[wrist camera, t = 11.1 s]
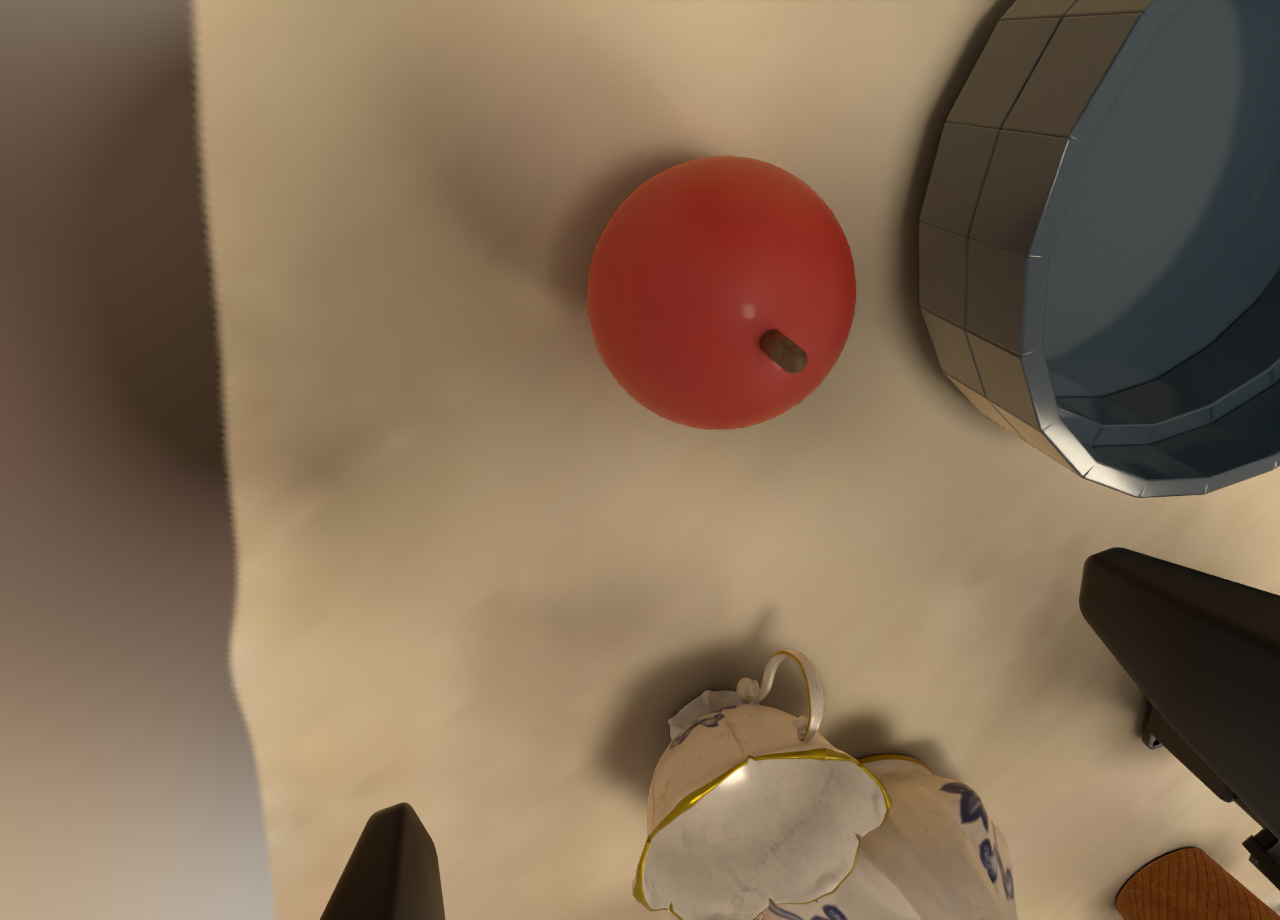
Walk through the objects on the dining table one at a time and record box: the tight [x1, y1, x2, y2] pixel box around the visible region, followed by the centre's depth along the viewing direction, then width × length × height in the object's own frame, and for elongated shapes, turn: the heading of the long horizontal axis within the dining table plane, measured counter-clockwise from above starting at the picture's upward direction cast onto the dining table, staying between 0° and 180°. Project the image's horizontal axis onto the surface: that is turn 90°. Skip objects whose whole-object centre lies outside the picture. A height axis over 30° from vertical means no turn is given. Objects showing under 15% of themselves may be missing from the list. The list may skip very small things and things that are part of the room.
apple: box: [587, 156, 856, 429], centre depth 16 cm, size 6×6×7 cm
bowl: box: [919, 0, 1280, 498], centre depth 20 cm, size 15×15×5 cm
